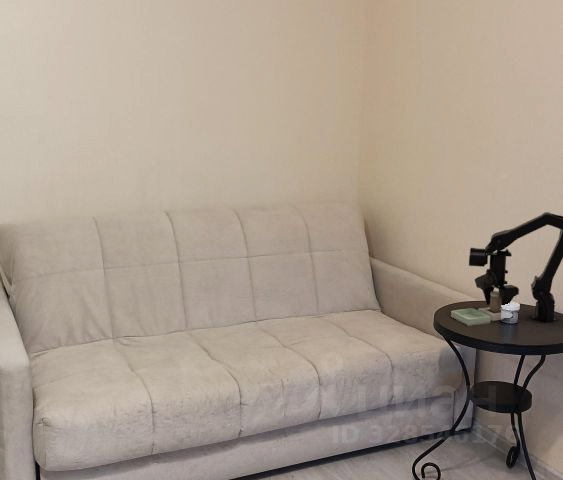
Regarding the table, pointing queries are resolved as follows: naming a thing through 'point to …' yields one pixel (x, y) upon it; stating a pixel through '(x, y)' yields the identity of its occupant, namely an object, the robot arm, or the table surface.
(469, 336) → the table surface
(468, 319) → the tray
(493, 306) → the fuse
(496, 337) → the table surface
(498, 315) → the socket block
